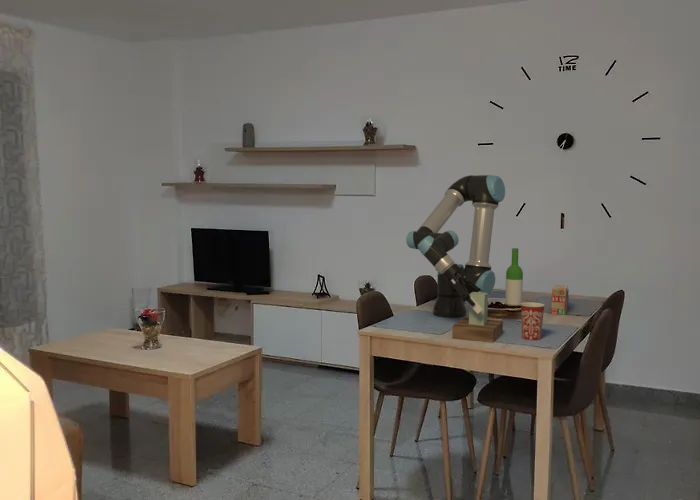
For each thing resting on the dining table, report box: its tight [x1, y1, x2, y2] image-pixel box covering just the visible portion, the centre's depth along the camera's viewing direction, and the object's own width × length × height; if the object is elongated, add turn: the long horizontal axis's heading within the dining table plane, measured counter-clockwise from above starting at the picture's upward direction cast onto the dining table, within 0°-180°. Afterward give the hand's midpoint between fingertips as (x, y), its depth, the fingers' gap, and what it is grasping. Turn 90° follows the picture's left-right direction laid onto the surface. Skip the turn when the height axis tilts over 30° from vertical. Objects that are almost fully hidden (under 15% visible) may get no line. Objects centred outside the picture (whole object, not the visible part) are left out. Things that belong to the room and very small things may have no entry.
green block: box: [468, 292, 489, 325], centre depth 261 cm, size 6×6×12 cm
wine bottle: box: [504, 247, 524, 306], centre depth 312 cm, size 8×8×30 cm
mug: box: [520, 301, 545, 341], centre depth 259 cm, size 13×9×14 cm
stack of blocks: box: [550, 284, 569, 316], centre depth 314 cm, size 21×6×12 cm, turn 158°
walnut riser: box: [451, 316, 504, 344], centre depth 262 cm, size 18×16×5 cm
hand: (484, 308), depth 260 cm, fingers open, 13 cm apart
